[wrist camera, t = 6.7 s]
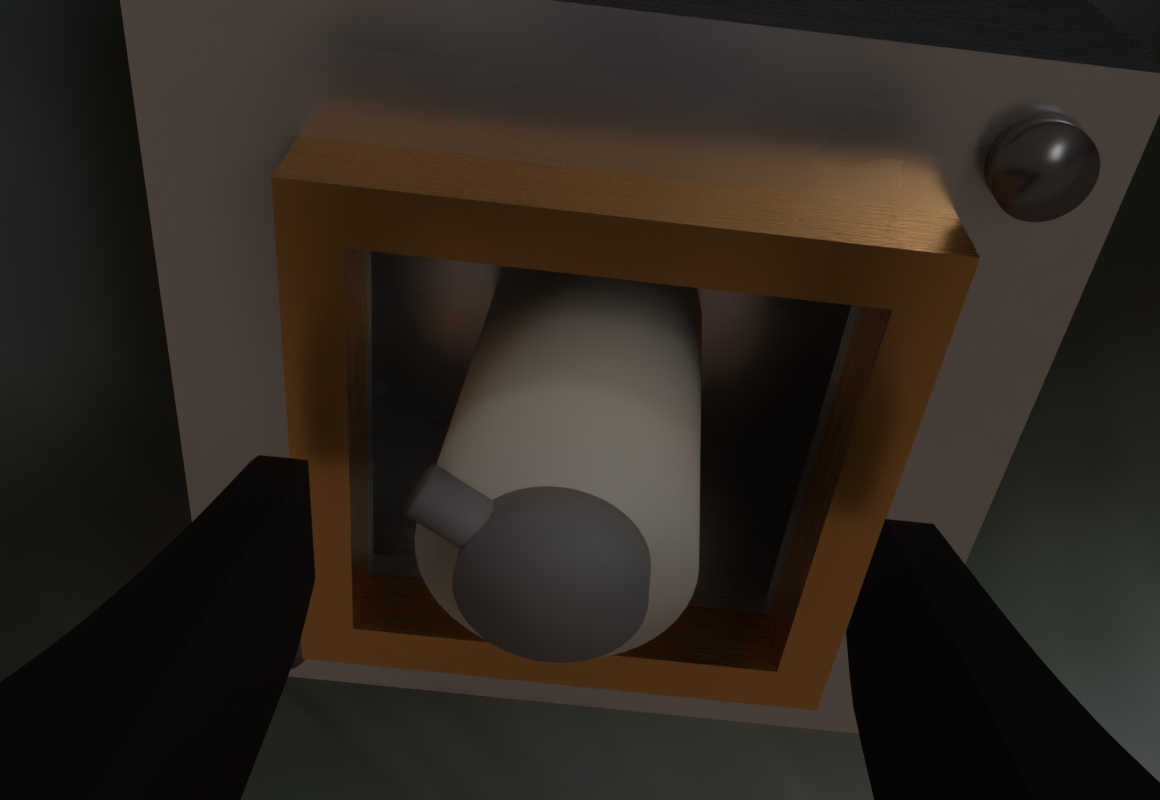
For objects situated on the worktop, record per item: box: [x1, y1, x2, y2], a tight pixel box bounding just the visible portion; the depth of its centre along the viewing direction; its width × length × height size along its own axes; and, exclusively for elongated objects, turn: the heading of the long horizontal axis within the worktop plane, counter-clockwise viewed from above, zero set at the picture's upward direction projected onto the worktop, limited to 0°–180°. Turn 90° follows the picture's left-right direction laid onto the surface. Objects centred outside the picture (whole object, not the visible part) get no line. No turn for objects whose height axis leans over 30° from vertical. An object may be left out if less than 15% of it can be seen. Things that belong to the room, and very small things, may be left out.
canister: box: [403, 267, 702, 663], centre depth 16 cm, size 4×4×7 cm
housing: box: [120, 0, 1160, 734], centre depth 17 cm, size 12×12×5 cm
